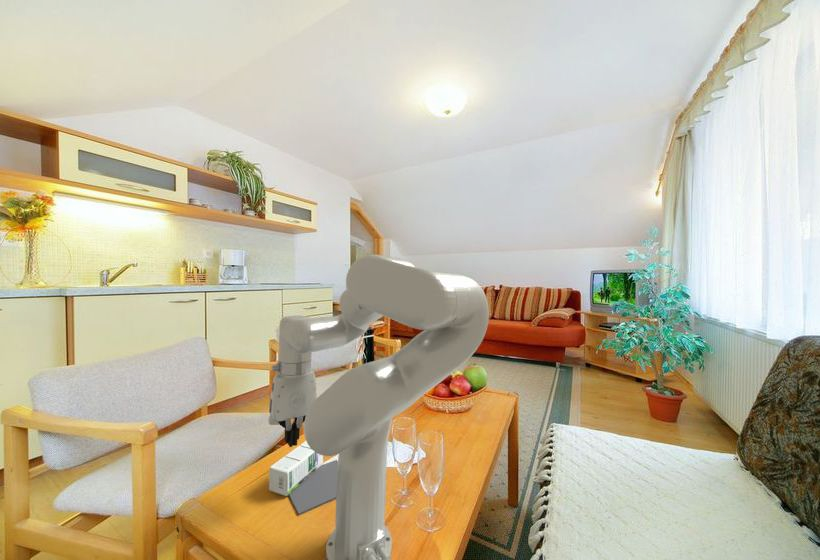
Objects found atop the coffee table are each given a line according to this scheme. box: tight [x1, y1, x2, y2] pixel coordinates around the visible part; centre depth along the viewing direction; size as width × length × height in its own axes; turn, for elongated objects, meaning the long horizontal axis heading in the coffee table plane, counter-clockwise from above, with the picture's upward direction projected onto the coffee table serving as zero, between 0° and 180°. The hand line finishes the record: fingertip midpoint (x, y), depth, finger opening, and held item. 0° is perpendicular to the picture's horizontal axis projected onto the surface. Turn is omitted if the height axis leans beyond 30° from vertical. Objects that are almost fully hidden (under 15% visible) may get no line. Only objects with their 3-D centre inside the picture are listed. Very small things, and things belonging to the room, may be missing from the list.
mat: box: [288, 459, 338, 516], centre depth 75 cm, size 14×15×1 cm
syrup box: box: [268, 440, 324, 497], centre depth 77 cm, size 6×6×14 cm
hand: (291, 443), depth 70 cm, fingers closed
